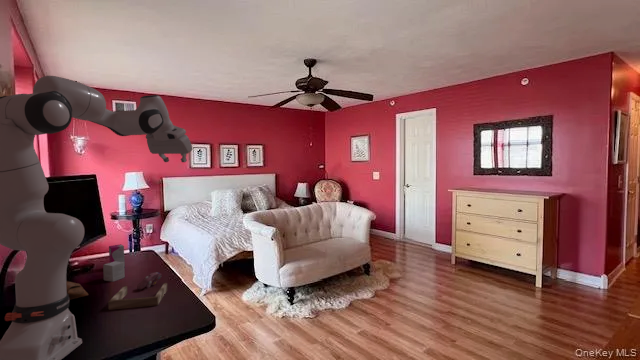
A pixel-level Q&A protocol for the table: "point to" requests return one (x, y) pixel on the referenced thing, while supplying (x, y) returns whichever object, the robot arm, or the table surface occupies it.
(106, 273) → the product box
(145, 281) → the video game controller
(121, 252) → the supplement box
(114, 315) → the table surface
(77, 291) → the sunglasses case
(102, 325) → the table surface
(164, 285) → the birch dock
